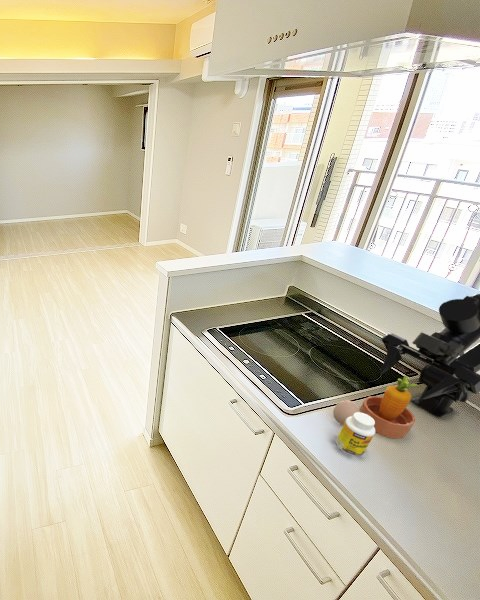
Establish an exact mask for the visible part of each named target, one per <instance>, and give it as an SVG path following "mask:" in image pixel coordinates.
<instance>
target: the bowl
mask: <svg viewBox="0 0 480 600" xmlns="http://www.w3.org/2000/svg"><path fill="white" fill-rule="evenodd" d="M382 398H383V396H378V395H373V396H372V395H371V396H368V397H366V398H364V400H363V401H362V404H361V406H360V407H359V411H360V412H361V413H364V414H367V415H369V416H370V417H372V418H373V419H374V421H375V424H374V428H375V434H378V435H380V436H382V437H385V438H389V439H402V438H405V437H407V436H408V434H409V433H410V431H411V429H412V427H413V426H414V424H415V423H416V417H415V415H414V414H413V413H412V412H411V410H409V409H408V407H406V408H405V409H404V411H403V412H402V413H401V414H400V415H399V416H398V417H396V418H395V419H393V420H392V421H387V420H384V419H382V418H380V416H379V408H380V403H381V400H382Z"/></svg>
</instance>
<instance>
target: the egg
mask: <svg viewBox="0 0 480 600" xmlns="http://www.w3.org/2000/svg"><path fill="white" fill-rule="evenodd" d="M359 410H360V407H359V406H358V404H356V402H354V401H352V400H341V401H339V402H337V404H335V406H334V407H333V411H332V414H333V418H334V420H335V421H336V422H337V423H338V424H339V425H342V426H343V425H344V423H345V421H346V419H347V418H348V417H351V416H353V415H354V413H356V412H360V411H359Z"/></svg>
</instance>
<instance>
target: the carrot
mask: <svg viewBox="0 0 480 600" xmlns="http://www.w3.org/2000/svg"><path fill="white" fill-rule="evenodd" d="M408 380H409V376H407V375H403V378H397V385H388V386H387V387H386V388H385V391H384V393H383V395H382V397H383V398H382V400H381V403H380V408H379V416H380V418H382V419H384V420H387V421H392V420H393V419H395V418H396V417H398V416H399V415H400V414H401V413H402V412H403V411H404V409H405V408H407V407H408V405H409V403H410V401H412V394H413V393H411V392H410V391H409V389H408V388H411V387H418V386H419V385H418V384H417V383H410V381H408Z"/></svg>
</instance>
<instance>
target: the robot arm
mask: <svg viewBox="0 0 480 600" xmlns="http://www.w3.org/2000/svg"><path fill="white" fill-rule="evenodd" d="M438 314H439V317H440V319H441V323H442V324H443V326H444V327H443V328H441V329H440V330H439V331H438V332H437V331H435V332H433V333H432V334H431V335H429V334H427V333H425V332H422V331H421V332H420V333H419V334H418V335H417V336H416V338H415V339H414V340H413V342H412V344H413V345H415V346H416V348H417V349H416V348H414V347H412V346H410V344H409V341H408V340H407V339H406V338H403V337H401V336H399V335H397V334H395V333H394V332H390V333H387V334H385V335H384V336H382V337H381V338H380V340H381V342H382V343H383V345H384V347H385V350H386V356H385V358H384V361H383V363H382V365H381V368H380V370H379V374H380V375H381V376H382V375H384V374H385V373H388V372H389V370H391V369H392V368H393V367H394V366H395V365H397V363H399V362H400V361H401V360H402V359H403V357H402V356H403V355H406V354H407V355H409V356H410V357H413V358H415V359H417V360H419V361H421V362H423V363H425V364H426V365H424V367H423V368H422V369H421V371H420V374H419V377H418V383H420V384H423V385H425V388H424V390H423V391H422V393H421V394H420V396H417V397H415V398H413V399H412V398H411V402H412V403H413V404H414V405H415V406H418V407H420V408H421V409H423V410H425V411H426V412H428V413H430V414H432V415H433V416H435V417H437V418H442V417H444V416H446V415H448V414H450V413H452V412H454V411H455V408H452V407H451V406H452V404H453V402H455V403H458V402H460V403H466V402H467V401H468V400H469V398H470V397H472V394H474V395H478V394H479V393H480V374H479V373H478V372H479V371H480V342H478V343H477V344H476V345H474V344H475V343H476V342H477V341H478V340H479V339H480V293H476V294H474V295H470V296H469V295H466V296H465V297H463V298H455V299H450V300H447V301H444V302H442V303H441V304H440V305H439V308H438ZM472 345H474V346H472ZM471 346H472V347H471ZM470 347H471V348H470Z"/></svg>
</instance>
